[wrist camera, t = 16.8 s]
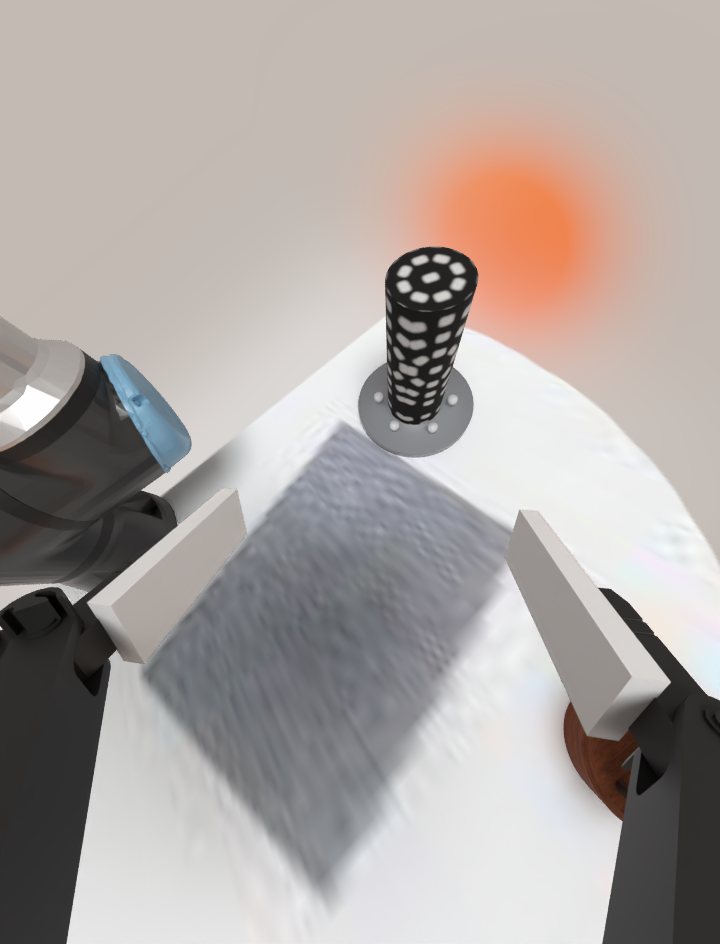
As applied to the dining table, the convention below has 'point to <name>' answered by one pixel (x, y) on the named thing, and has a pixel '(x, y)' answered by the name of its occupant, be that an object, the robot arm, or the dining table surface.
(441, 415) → the stub plate
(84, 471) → the robot arm
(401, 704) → the dining table surface
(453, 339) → the white-spotted black cylinder
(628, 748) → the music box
